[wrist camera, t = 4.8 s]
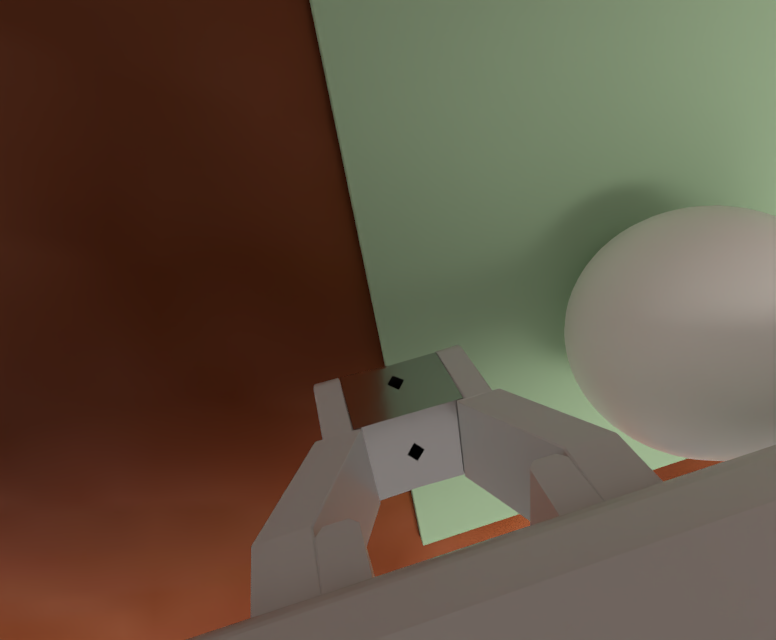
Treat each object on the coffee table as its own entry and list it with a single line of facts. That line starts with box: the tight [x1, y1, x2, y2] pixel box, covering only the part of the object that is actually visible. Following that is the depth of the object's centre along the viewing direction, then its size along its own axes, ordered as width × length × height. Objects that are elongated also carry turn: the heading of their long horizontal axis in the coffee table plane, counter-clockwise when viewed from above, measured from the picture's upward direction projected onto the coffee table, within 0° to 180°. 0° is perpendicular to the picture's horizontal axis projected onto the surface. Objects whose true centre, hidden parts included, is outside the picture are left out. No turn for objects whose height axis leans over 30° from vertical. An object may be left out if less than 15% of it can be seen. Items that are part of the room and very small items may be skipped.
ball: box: [564, 205, 776, 461], centre depth 10 cm, size 5×5×5 cm
